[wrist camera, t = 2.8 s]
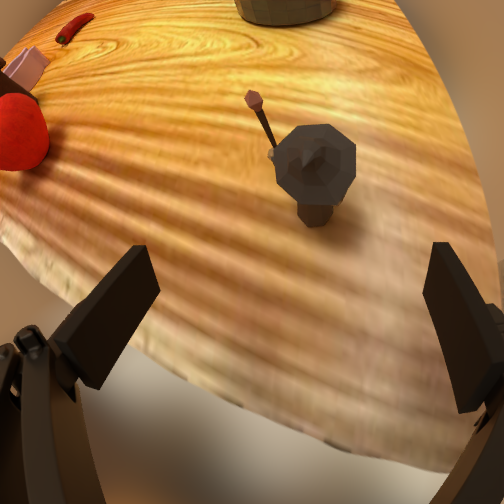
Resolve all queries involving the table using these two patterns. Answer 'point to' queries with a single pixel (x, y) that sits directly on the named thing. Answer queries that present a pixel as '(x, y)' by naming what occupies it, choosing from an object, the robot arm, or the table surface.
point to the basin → (284, 10)
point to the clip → (27, 67)
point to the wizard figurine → (310, 165)
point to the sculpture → (11, 84)
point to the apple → (21, 133)
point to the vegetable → (72, 28)
